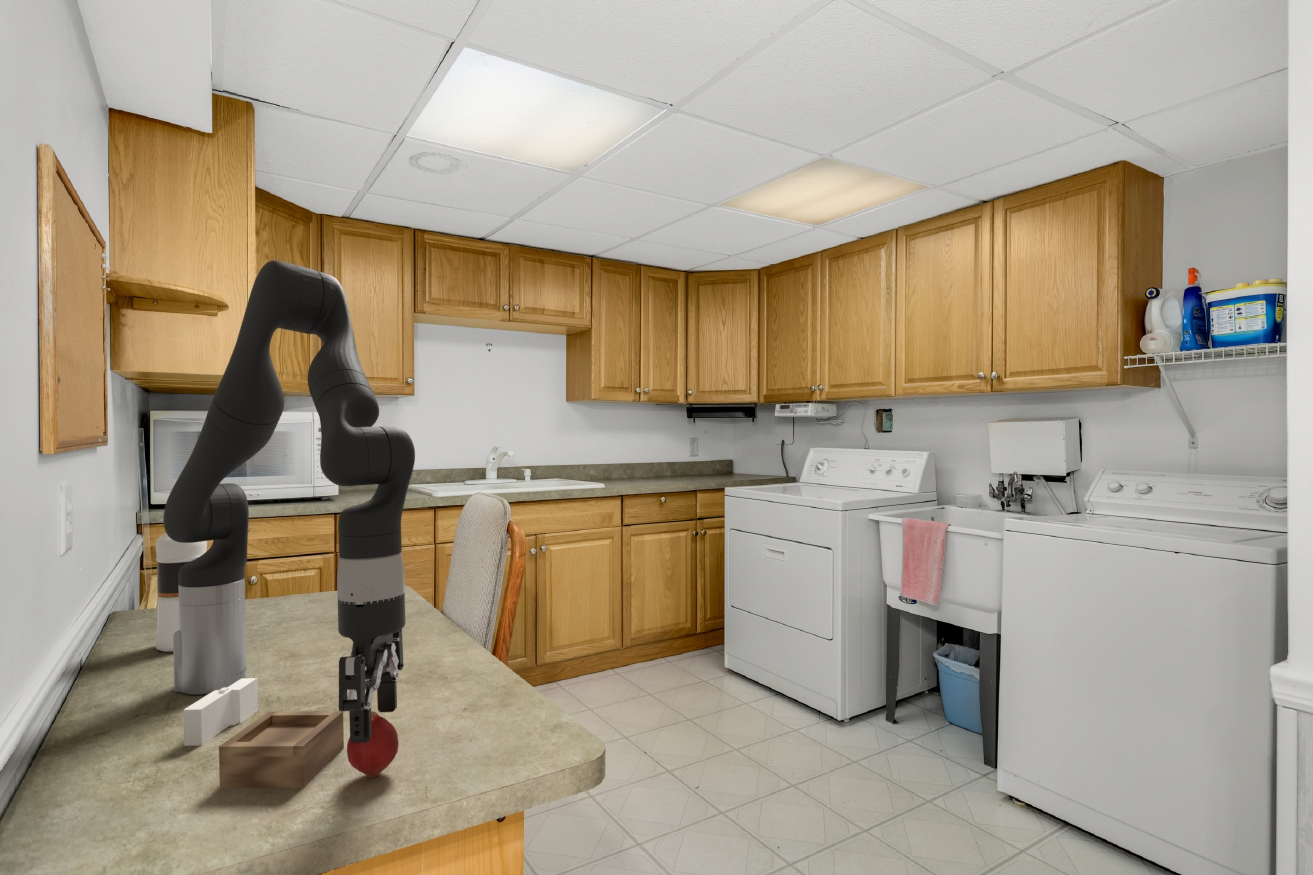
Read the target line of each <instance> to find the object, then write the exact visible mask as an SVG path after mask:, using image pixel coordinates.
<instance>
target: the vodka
mask: <svg viewBox="0 0 1313 875" xmlns="http://www.w3.org/2000/svg"><path fill="white" fill-rule="evenodd" d="M154 548H155V556H156V557H155V561H156V578H157V579H156V582H157V583H156V586H157V587H156V589H157V595H156V596H157V597H156V599H155V600H156V602H157V604H156V605H157V621H156V633H155V636H154V648H155V649H156V650H158V651H159V652H164V653H173V634H174V633H175V632H176V631H178V630H179V586H178V585H179V584H178V572H179V569H180V568H181V567H182V566H183V565H185V564H187V563H189V562H191V561H193V560H195V559H196V558H198V557H200V556H201V555H203V554H204V553H205V552H207V551H208V550H207V549H208V541H202V542H194V543H180V542H176V541H174V540H172V539H171V538H169V536H168V535H167V533H166V532H165V533H164V534H162V535H161V536H159V537H158V538H157V539H156V542H155V547H154Z"/></svg>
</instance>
